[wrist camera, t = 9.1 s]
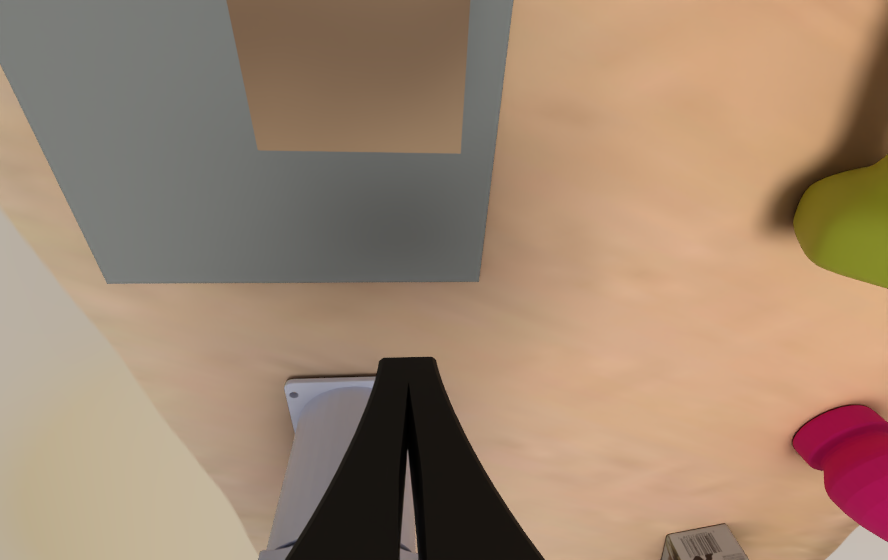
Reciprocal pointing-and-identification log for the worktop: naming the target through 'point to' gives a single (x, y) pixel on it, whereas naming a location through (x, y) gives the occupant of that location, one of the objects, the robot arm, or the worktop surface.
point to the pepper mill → (851, 462)
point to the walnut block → (354, 73)
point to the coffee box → (703, 545)
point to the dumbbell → (847, 223)
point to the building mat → (236, 154)
